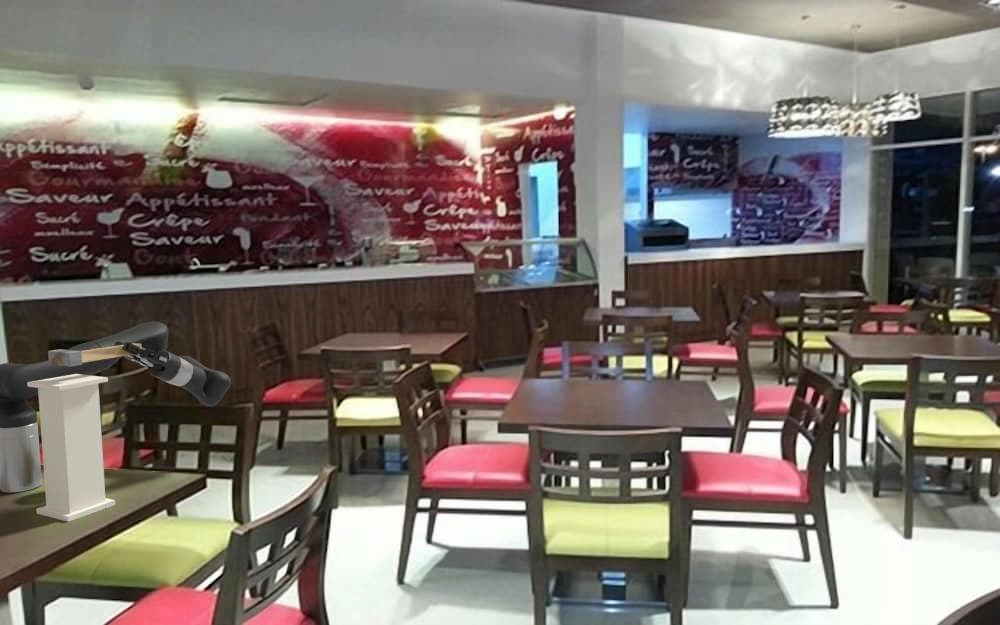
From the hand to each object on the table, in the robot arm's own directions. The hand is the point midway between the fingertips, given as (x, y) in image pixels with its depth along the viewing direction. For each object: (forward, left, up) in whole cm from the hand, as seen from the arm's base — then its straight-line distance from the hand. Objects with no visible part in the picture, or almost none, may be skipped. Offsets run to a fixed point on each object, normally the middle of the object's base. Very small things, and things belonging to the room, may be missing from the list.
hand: (120, 345), depth 186 cm
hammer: (0, -6, -3) cm, 6 cm away
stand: (0, -14, -39) cm, 41 cm away
